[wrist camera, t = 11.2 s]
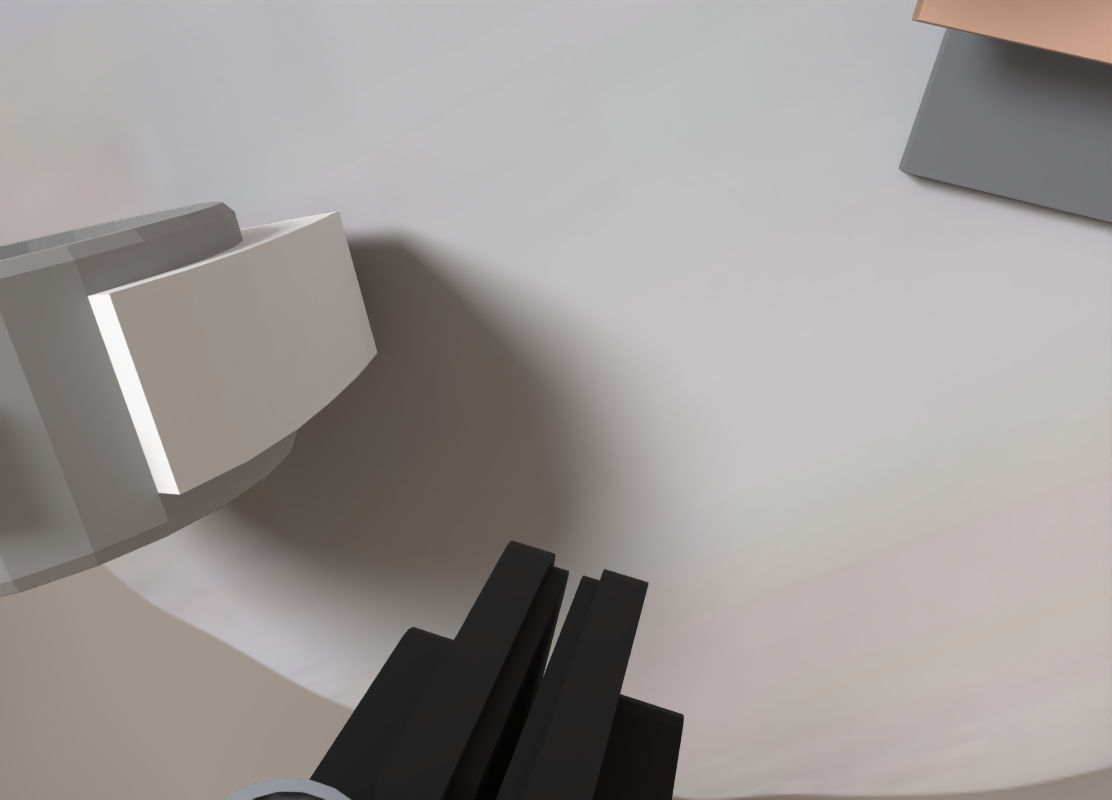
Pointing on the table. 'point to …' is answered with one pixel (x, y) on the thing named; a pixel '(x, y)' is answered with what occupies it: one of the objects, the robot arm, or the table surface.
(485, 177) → the table surface
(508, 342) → the table surface
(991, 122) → the grey ridged base plate
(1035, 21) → the flap
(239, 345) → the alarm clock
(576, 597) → the robot arm
